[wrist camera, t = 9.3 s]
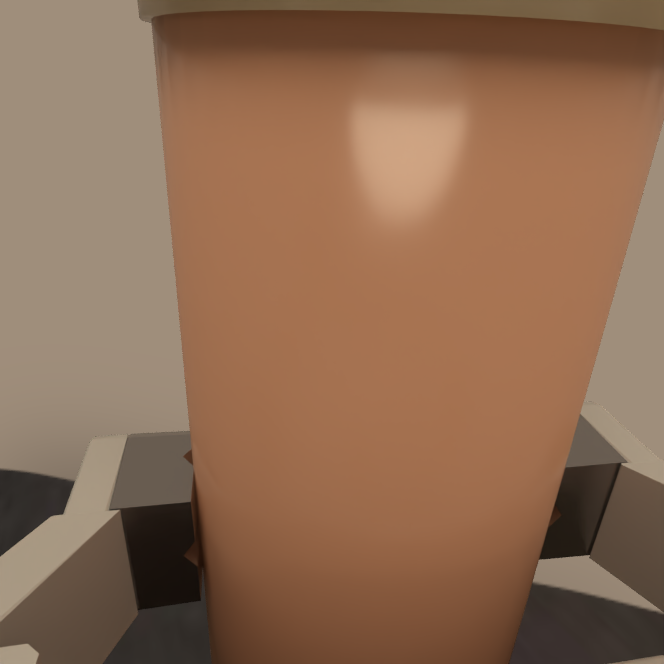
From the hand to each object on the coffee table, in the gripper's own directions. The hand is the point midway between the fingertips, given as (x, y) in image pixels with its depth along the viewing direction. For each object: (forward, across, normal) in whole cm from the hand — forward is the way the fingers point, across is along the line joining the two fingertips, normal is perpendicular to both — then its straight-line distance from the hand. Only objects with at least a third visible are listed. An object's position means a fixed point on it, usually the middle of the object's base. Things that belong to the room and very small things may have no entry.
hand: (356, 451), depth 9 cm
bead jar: (-1, 0, +9) cm, 9 cm away
